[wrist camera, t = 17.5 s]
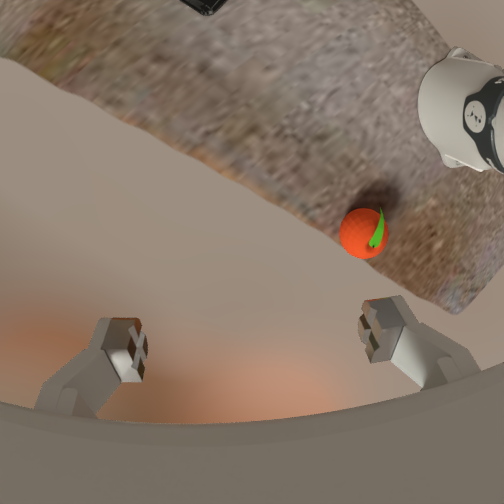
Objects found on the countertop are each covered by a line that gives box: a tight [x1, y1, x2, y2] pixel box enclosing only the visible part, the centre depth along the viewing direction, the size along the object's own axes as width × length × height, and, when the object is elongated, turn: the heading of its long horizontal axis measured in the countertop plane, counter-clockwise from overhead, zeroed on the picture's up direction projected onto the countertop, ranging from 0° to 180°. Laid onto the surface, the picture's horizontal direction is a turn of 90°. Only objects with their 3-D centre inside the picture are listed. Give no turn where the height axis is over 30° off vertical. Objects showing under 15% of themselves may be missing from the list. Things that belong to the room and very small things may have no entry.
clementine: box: [339, 208, 389, 259], centre depth 42 cm, size 8×7×7 cm
